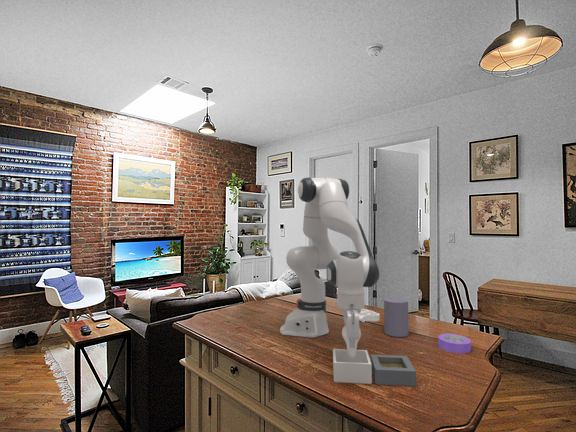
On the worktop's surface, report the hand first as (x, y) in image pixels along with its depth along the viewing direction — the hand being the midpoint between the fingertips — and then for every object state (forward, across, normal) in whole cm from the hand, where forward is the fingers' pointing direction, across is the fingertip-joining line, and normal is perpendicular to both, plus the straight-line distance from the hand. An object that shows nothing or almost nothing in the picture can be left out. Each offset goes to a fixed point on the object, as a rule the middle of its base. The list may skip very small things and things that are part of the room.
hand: (351, 343), depth 110 cm
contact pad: (+8, 0, -13) cm, 15 cm away
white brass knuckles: (+10, +68, -11) cm, 69 cm away
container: (+10, +43, -23) cm, 50 cm away
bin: (+10, 0, 0) cm, 10 cm away
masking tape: (+10, +28, -42) cm, 52 cm away
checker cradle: (+10, 0, -13) cm, 16 cm away
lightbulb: (+5, 0, 0) cm, 5 cm away
